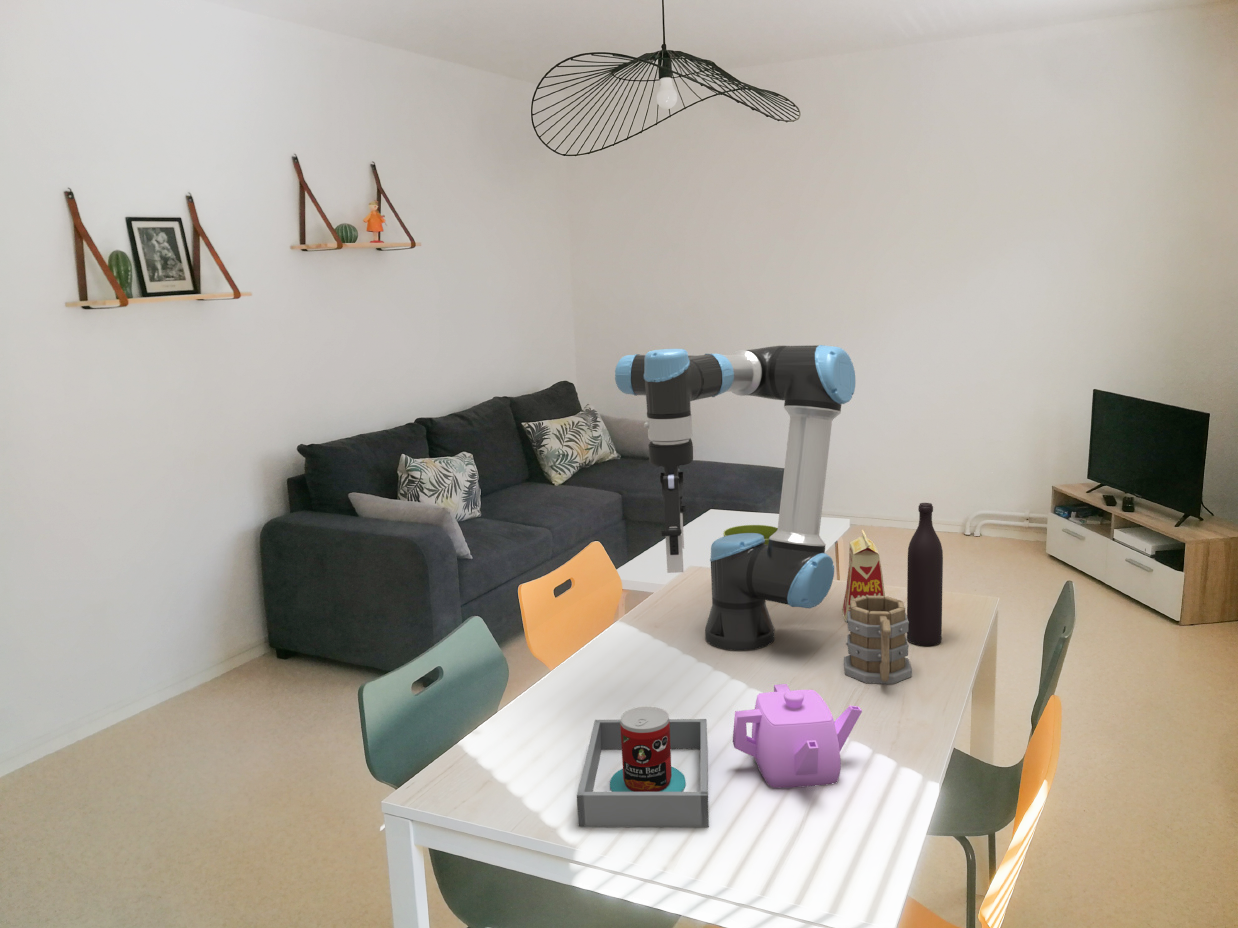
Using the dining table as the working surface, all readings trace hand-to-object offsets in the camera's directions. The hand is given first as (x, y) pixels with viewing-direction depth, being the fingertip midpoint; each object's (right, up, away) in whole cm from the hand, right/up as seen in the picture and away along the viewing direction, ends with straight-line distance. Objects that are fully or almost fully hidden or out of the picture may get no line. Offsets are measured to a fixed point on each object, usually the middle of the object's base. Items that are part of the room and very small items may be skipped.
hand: (676, 559), depth 163 cm
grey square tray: (-5, -34, -16) cm, 38 cm away
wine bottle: (+55, -21, +36) cm, 69 cm away
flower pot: (+24, -16, +71) cm, 77 cm away
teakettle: (+19, -32, -13) cm, 40 cm away
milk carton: (+47, -19, +51) cm, 72 cm away
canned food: (-5, -34, -16) cm, 38 cm away
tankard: (+41, -25, +18) cm, 51 cm away
